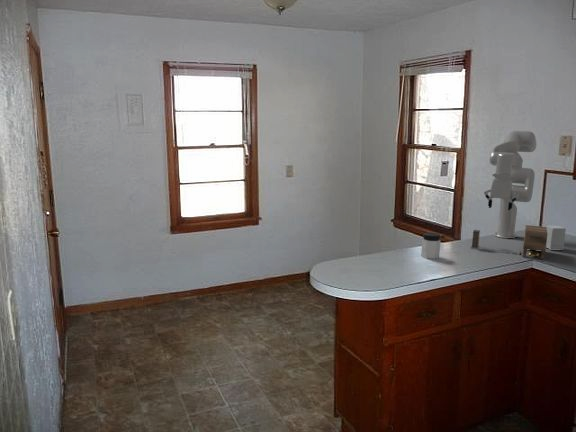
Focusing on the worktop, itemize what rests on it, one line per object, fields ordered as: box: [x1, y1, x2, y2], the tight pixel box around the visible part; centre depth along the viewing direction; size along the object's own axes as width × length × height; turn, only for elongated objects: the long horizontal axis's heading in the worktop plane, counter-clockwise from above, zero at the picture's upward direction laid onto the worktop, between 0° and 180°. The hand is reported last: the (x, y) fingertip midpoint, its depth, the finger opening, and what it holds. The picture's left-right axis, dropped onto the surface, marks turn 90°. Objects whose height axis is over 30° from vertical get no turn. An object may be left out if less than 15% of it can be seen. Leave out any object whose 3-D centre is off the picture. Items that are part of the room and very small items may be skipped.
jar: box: [420, 231, 441, 260], centre depth 250 cm, size 9×8×12 cm
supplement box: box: [545, 225, 567, 251], centre depth 269 cm, size 7×7×13 cm
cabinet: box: [522, 224, 548, 260], centre depth 258 cm, size 19×10×14 cm, turn 154°
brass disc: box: [527, 251, 540, 257], centre depth 257 cm, size 5×5×2 cm
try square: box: [470, 229, 521, 256], centre depth 264 cm, size 5×24×10 cm, turn 63°
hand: (499, 208), depth 261 cm, fingers open, 9 cm apart
